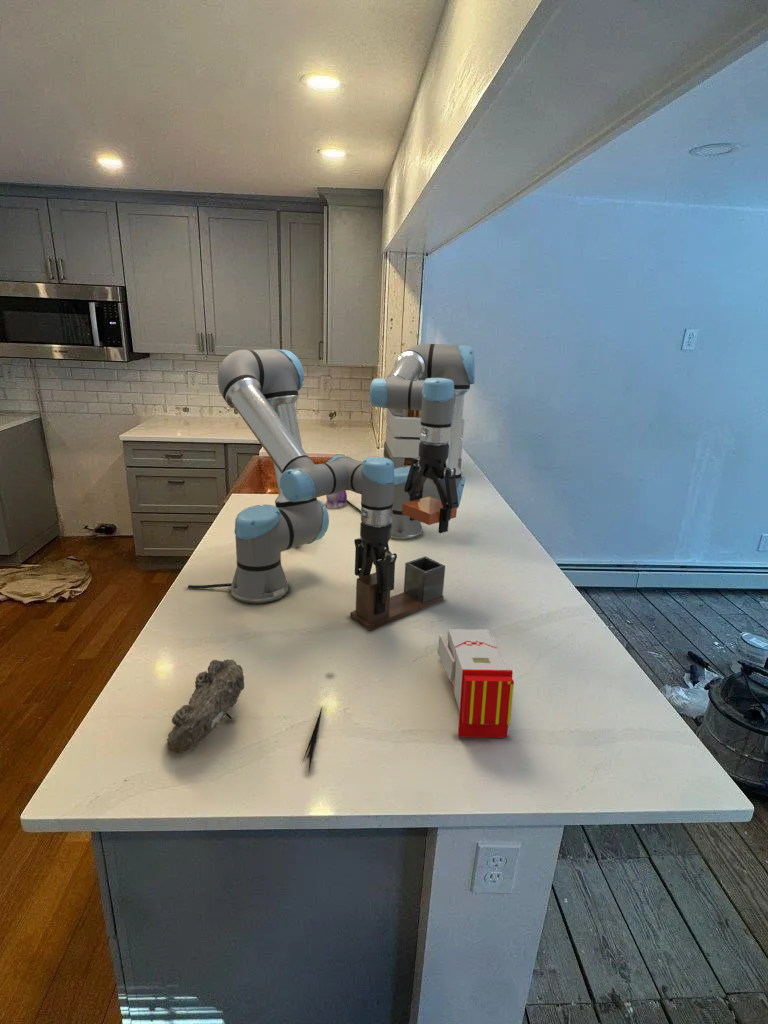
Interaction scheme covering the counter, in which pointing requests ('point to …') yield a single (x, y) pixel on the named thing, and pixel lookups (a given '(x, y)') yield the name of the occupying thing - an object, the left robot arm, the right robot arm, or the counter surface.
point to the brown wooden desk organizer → (418, 594)
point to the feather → (313, 740)
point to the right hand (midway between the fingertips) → (428, 525)
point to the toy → (478, 682)
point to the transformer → (406, 436)
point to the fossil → (206, 705)
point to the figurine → (336, 500)
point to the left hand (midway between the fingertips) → (372, 607)
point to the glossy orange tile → (425, 510)
